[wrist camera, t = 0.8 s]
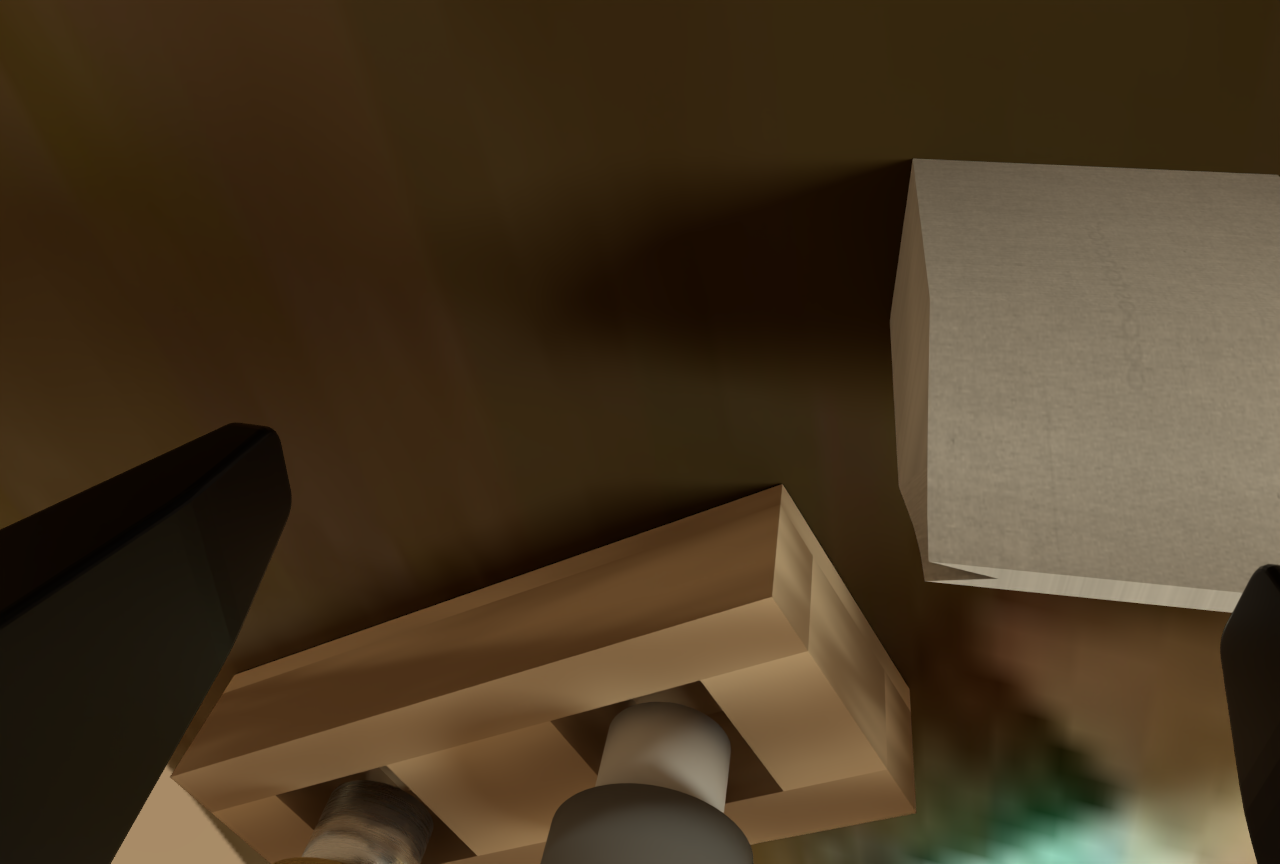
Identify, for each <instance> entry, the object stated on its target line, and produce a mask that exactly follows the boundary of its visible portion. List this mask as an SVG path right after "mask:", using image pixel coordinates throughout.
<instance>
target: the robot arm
mask: <svg viewBox="0 0 1280 864" xmlns="http://www.w3.org/2000/svg"><path fill="white" fill-rule="evenodd" d="M290 509H291V489H290V484H289V480H288V475H287V470H286V465H285V460H284V456H283V451H282V446H281V442H280V439H279V436H278V434H277V433H276V431H274V430H273V429H272V428H270V427H267V426H260V425H252V424H245V423H230V424H228V425H225V426H223V427H221V428H219V429H217V430H214V431H212V432H210V433H208V434H206V435H204V436H202V437H199V438H197V439H195V440H193V441H191V442H189V443H186V444H184V445H182V446H180V447H178V448H176V449H173V450H171V451H169V452H167V453H165V454H163V455H161V456H158V457H156V458H154V459H152V460H150V461H148V462H145V463H143V464H141V465H139V466H137V467H135V468H132V469H130V470H128V471H126V472H124V473H122V474H120V475H117V476H115V477H113V478H111V479H109V480H107V481H104V482H102V483H100V484H98V485H96V486H94V487H91V488H89V489H87V490H85V491H83V492H81V493H79V494H76V495H74V496H72V497H70V498H68V499H66V500H63V501H61V502H59V503H57V504H55V505H53V506H50V507H48V508H46V509H44V510H42V511H40V512H38V513H35V514H33V515H31V516H29V517H27V518H25V519H22V520H20V521H18V522H16V523H14V524H12V525H9V526H7V527H5V528H3V529H1V530H0V864H111V862H112V860H113V859H114V857H115V855H116V853H117V851H118V850H119V848H120V846H121V844H122V843H123V841H124V839H125V837H126V836H127V834H128V832H129V830H130V828H131V827H132V825H133V823H134V821H135V820H136V818H137V816H138V814H139V813H140V811H141V809H142V807H143V805H144V804H145V802H146V800H147V798H148V797H149V795H150V793H151V791H152V790H153V788H154V786H155V784H156V783H157V781H158V779H159V777H160V775H161V774H162V772H163V770H164V768H165V767H166V765H167V763H168V761H169V760H170V758H171V756H172V754H173V753H174V751H175V749H176V747H177V745H178V744H179V742H180V740H181V738H182V737H183V735H184V733H185V731H186V730H187V728H188V726H189V724H190V723H191V721H192V719H193V717H194V715H195V714H196V712H197V710H198V708H199V707H200V705H201V703H202V701H203V700H204V698H205V696H206V694H207V693H208V691H209V689H210V687H211V685H212V684H213V682H214V680H215V678H216V677H217V675H218V673H219V671H220V670H221V668H222V666H223V664H224V662H225V660H226V658H227V657H228V655H229V653H230V651H231V649H232V647H233V645H234V643H235V641H236V639H237V636H238V634H239V632H240V630H241V628H242V626H243V623H244V621H245V619H246V616H247V614H248V611H249V609H250V607H251V604H252V602H253V600H254V597H255V595H256V593H257V590H258V588H259V586H260V583H261V581H262V578H263V576H264V574H265V571H266V569H267V567H268V564H269V562H270V560H271V557H272V555H273V553H274V550H275V548H276V546H277V543H278V541H279V538H280V536H281V534H282V531H283V529H284V527H285V524H286V522H287V519H288V517H289V513H290ZM1220 654H1221V662H1222V669H1223V676H1224V683H1225V689H1226V696H1227V703H1228V710H1229V717H1230V724H1231V730H1232V737H1233V744H1234V751H1235V758H1236V765H1237V771H1238V778H1239V785H1240V791H1241V797H1242V802H1243V808H1244V813H1245V817H1246V822H1247V826H1248V830H1249V834H1250V838H1251V842H1252V845H1253V849H1254V853H1255V856H1256V860H1257V864H1280V565H1277V564H1266V565H1262V566H1260V567H1259V568H1258V569H1257V570H1255V572H1254V573H1253V575H1252V576H1251V578H1250V580H1249V581H1248V583H1247V585H1246V587H1245V589H1244V591H1243V593H1242V595H1241V597H1240V599H1239V601H1238V603H1237V605H1236V606H1235V608H1234V610H1233V612H1232V614H1231V616H1230V618H1229V620H1228V622H1227V624H1226V626H1225V628H1224V631H1223V634H1222V638H1221V647H1220Z"/></svg>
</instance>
